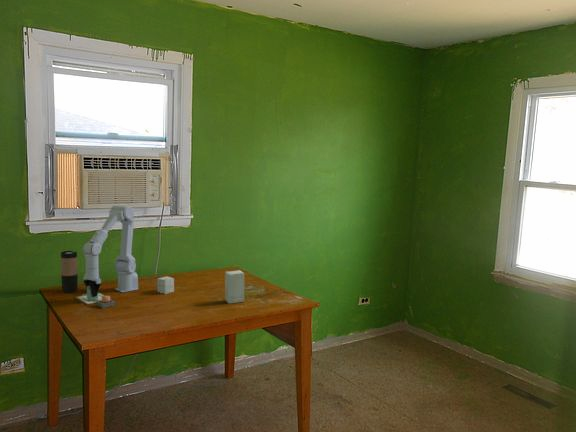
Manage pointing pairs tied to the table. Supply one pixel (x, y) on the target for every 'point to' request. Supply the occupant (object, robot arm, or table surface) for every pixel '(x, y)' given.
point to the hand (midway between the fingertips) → (92, 295)
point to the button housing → (103, 305)
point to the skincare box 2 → (234, 286)
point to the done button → (105, 299)
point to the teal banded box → (89, 295)
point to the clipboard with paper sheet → (87, 301)
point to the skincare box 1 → (165, 285)
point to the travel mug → (69, 271)
